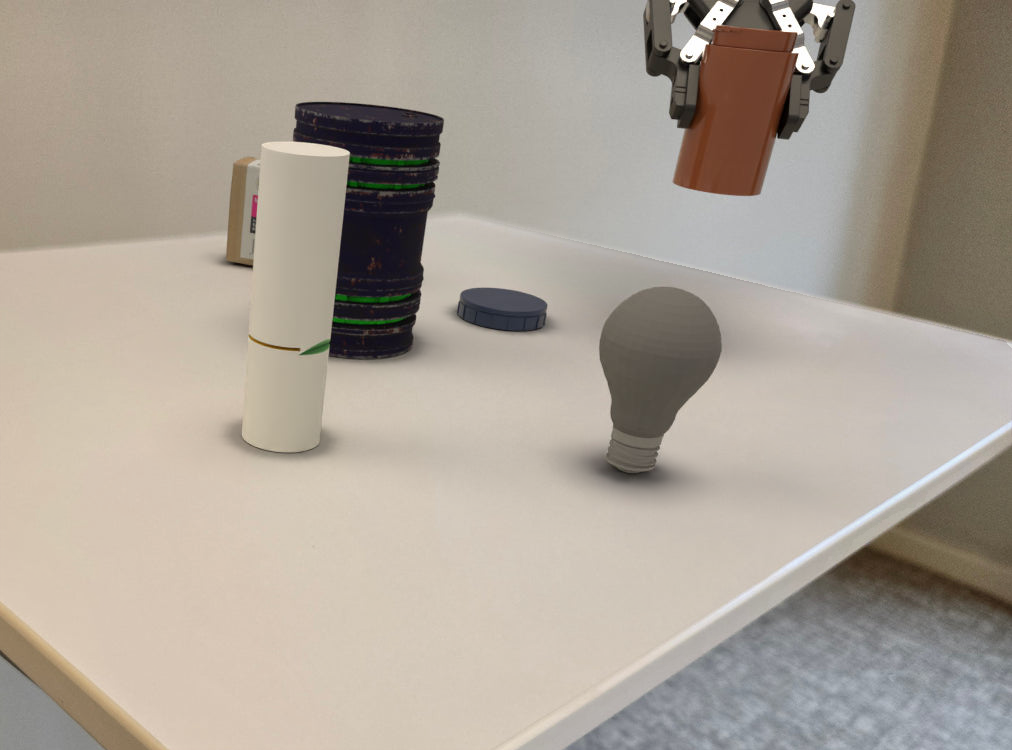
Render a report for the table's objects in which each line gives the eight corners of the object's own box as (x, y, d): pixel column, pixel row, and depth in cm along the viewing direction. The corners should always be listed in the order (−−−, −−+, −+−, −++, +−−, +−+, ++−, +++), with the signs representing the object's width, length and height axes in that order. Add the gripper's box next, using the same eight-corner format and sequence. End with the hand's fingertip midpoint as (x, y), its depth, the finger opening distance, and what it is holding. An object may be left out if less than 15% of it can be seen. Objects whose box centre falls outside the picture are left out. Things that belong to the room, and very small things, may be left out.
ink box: (223, 263, 92) (229, 161, 88) (238, 254, 95) (244, 155, 92) (338, 281, 90) (349, 177, 86) (349, 272, 93) (360, 171, 89)
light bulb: (653, 448, 62) (698, 275, 57) (705, 493, 57) (759, 307, 52) (556, 447, 61) (593, 271, 56) (600, 493, 56) (646, 303, 51)
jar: (700, 177, 80) (737, 25, 75) (776, 193, 76) (821, 33, 71) (655, 181, 76) (692, 22, 71) (733, 198, 72) (777, 31, 67)
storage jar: (302, 361, 71) (324, 119, 64) (257, 317, 79) (273, 98, 72) (438, 357, 74) (473, 126, 67) (381, 315, 82) (408, 105, 75)
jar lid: (473, 329, 81) (476, 310, 80) (446, 304, 86) (448, 285, 86) (557, 332, 82) (561, 313, 81) (525, 307, 88) (528, 288, 87)
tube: (249, 452, 57) (270, 153, 50) (235, 422, 60) (254, 139, 53) (327, 452, 57) (360, 158, 50) (310, 422, 61) (337, 144, 54)
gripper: (663, -122, 75) (640, 76, 70) (881, -106, 73) (873, 98, 68) (638, -34, 82) (616, 150, 77) (836, -17, 80) (826, 173, 75)
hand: (737, 125), depth 73 cm, fingers closed on jar, 6 cm apart
